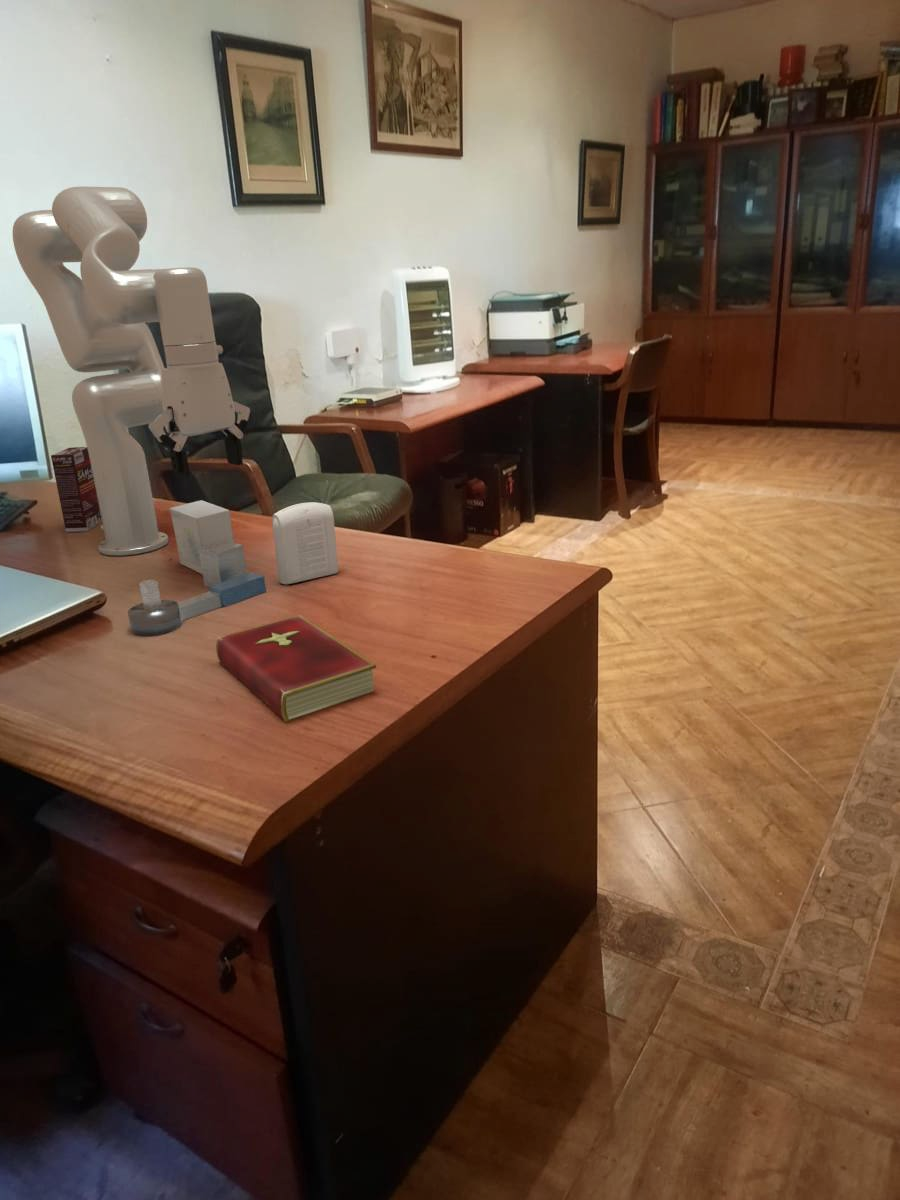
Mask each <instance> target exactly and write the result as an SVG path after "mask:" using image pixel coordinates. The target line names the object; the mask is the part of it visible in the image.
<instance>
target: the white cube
mask: <svg viewBox="0 0 900 1200" xmlns="http://www.w3.org/2000/svg"><path fill="white" fill-rule="evenodd" d="M199 555H200V561H201V567H202V573H203V574H202V578H203V585H204V587H208V588H209V587H210V586H213V585H216V584H219V583H222V582H225V581H228V580H231V579H234V578H237V577H240V576H243V575H246V574H248V573H247V564H246V558H245V552H244V545H243V544H240V543H237V542H236V543H235V542H234V543H233V542H229V541H225V540H224V541H221V542H218V543H214V544H211V545H207V546H204V547H201V548H199Z"/></svg>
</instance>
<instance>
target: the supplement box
mask: <svg viewBox="0 0 900 1200" xmlns="http://www.w3.org/2000/svg"><path fill="white" fill-rule="evenodd" d="M50 458H51V463H52V469H53V474H54V479H55V483H56V487H57V494H58V498H59V504H60V509H61V513H62V519H63V524H64V529H65V530H64V531H65V533H84V532H89V531H90V530H91V529H93V528H94V527H96V526H97V525H98V524H99V523H102V518H101V513H100V508H99V503H98V498H97V493H96V488H95V483H94V478H93V472H92V468H91V463H90V458H89V453H88V449H87V446H76V447H68V448H66V449H63V450H61V451H58V452H56V453H54V454H51V455H50Z"/></svg>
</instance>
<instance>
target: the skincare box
mask: <svg viewBox="0 0 900 1200" xmlns="http://www.w3.org/2000/svg"><path fill="white" fill-rule="evenodd" d="M169 511H170V517H171V520H172V525H173V530H174V531H173V532H174V536H175V541H176V548H177V551H178V552H177V553H178V558H179V563H180V564H181V565H183V566H185V567H187V568H189V569H190V570H192V571H195V572H197V573H199V574H201V575H203V573H202V567H201V561H200V555H199V548H201V547H204V546H207V545H211V544H214V543H218V542H221V541H224V540H225V541H229V542H233V543H235V540H234V533H233V527H232V520H231V519H232V518H231V511H230V510H229V509H227V508H224V507H222V506H219V505H216V504H213V503H212V502H211V503H210V502H207V501H205V500H202V499H201V500H196V501H193V502H189V503H184V504H181V505H176V506H173V507H170V508H169Z"/></svg>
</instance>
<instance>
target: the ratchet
mask: <svg viewBox="0 0 900 1200" xmlns="http://www.w3.org/2000/svg"><path fill="white" fill-rule="evenodd" d="M139 588H140V593H141V599H142V603H138V604H136V605H134V606H132V607H130V608H129V609H128V610H127V617H128V621H129V627H130V631H131V633H132V634H133V635H135V636H138V637H151V636H161V635H164V634H168V633H170V632H173V631H175V630H177V629H178V628H180V626H181V625H182V622H183V621H185V620H186V621H187V620H189V619H191V618H193V617H196V616H199V615H202V614H204V613H208V612H210V611H214V610H215V609H219V608H221V607H227V606H230V605H232V604H235V603H238V602H242V601H244V600H247V599H250V598H252V597H255V596H258V595H260V594H264V593H266V592H267V586H266V581H265V575H263V574H259V573H255V572H249V573H247V574H246V575H243V576H240V577H237V578H234V579H231V580H228V581H225V582H222V583H219V584H216V585H213V586H210V587H208V588H209V591H207V592H204V593H201V594H199V595H195V596H193V597H190V598H186V599H184V600H181V601H178V602H177V601H175V600H172V599H171V600H170V599H161V594H160V589H159V582H158V581H156V580H153V579H147V580H144V581H141V582H139Z"/></svg>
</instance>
